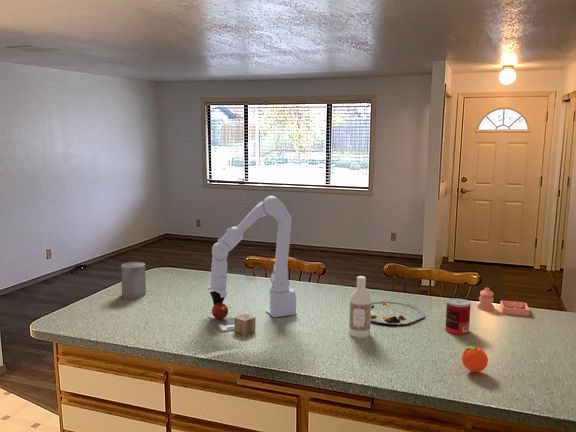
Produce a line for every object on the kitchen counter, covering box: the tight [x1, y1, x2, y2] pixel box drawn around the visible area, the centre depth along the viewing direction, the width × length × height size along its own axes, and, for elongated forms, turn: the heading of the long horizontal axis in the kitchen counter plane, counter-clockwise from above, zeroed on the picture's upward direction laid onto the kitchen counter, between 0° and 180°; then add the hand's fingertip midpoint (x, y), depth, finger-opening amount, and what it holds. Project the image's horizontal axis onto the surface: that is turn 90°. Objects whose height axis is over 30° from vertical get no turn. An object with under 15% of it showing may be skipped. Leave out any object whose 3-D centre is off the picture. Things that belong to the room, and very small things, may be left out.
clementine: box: [458, 346, 489, 373], centre depth 142 cm, size 8×7×7 cm
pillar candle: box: [120, 261, 147, 299], centre depth 209 cm, size 10×10×15 cm
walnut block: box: [233, 313, 257, 336], centre depth 171 cm, size 5×5×5 cm
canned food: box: [445, 297, 471, 336], centre depth 171 cm, size 8×8×11 cm
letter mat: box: [207, 316, 235, 333], centre depth 180 cm, size 11×18×1 cm, turn 24°
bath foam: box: [348, 275, 372, 339], centre depth 168 cm, size 7×7×20 cm
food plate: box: [371, 300, 426, 326], centre depth 188 cm, size 25×23×4 cm
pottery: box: [476, 287, 531, 317], centre depth 192 cm, size 18×10×10 cm, turn 73°
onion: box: [211, 303, 229, 319], centre depth 182 cm, size 6×6×8 cm
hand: (217, 310), depth 186 cm, fingers closed, pressing on onion
